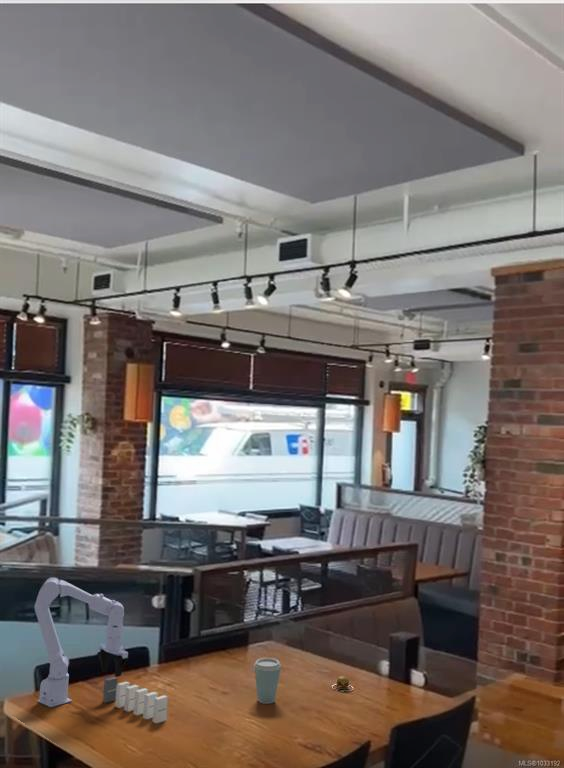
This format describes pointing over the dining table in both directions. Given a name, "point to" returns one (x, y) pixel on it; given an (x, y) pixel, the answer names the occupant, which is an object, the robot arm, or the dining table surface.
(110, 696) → the tile
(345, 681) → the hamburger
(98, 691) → the dining table surface
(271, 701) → the disposable coffee cup
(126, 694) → the tile
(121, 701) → the tile
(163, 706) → the tile
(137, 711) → the tile
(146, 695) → the tile
